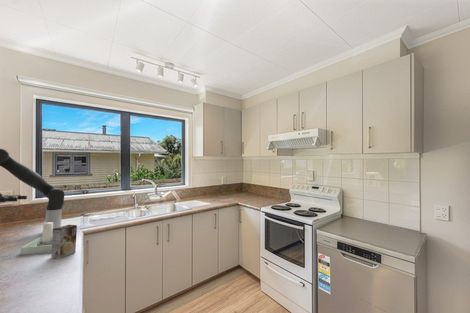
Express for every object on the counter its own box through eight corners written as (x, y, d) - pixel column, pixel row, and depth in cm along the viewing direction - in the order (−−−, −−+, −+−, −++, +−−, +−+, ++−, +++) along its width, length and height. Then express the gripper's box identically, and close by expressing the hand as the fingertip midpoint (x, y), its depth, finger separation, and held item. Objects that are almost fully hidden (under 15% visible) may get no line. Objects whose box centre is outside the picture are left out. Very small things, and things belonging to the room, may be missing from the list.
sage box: (39, 243, 132) (40, 237, 132) (68, 241, 137) (69, 235, 137) (20, 254, 115) (20, 247, 115) (54, 251, 119) (54, 245, 120)
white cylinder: (44, 244, 127) (46, 222, 128) (52, 244, 128) (54, 222, 129) (39, 247, 123) (41, 224, 124) (48, 246, 124) (50, 223, 125)
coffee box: (67, 251, 121) (69, 224, 122) (75, 252, 120) (77, 225, 121) (50, 257, 112) (52, 228, 113) (59, 259, 111) (61, 229, 112)
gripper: (-22, 194, 116) (14, 193, 120) (-2, 191, 129) (30, 191, 134) (-24, 207, 115) (13, 206, 120) (-3, 203, 129) (29, 202, 134)
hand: (22, 198), depth 127 cm, fingers open, 8 cm apart
